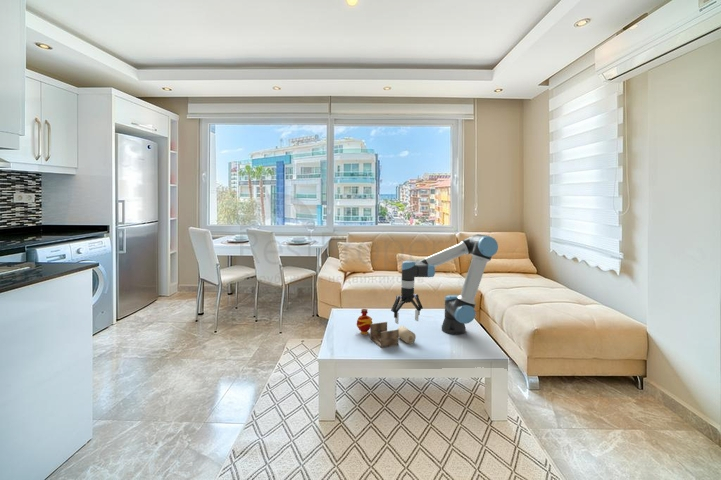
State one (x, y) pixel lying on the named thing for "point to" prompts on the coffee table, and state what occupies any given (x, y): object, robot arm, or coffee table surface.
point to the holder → (383, 335)
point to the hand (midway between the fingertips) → (406, 321)
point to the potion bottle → (364, 322)
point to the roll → (406, 335)
